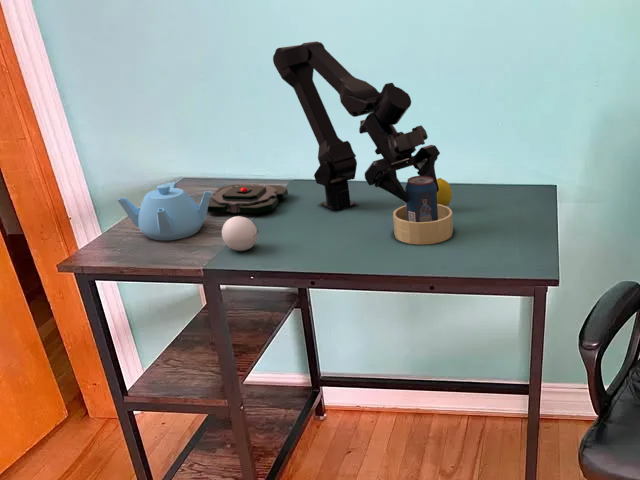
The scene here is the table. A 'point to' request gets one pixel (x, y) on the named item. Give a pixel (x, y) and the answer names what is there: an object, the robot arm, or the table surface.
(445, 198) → the lemon
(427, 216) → the soda can
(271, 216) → the table surface
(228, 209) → the dark brown layered slab
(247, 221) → the white ball
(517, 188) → the table surface
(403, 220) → the cream yellow bowl
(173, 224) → the teapot
